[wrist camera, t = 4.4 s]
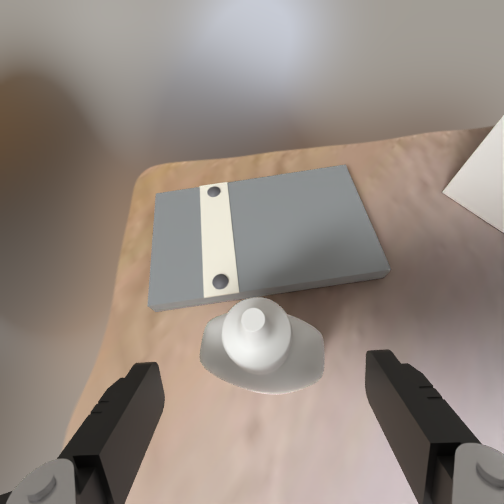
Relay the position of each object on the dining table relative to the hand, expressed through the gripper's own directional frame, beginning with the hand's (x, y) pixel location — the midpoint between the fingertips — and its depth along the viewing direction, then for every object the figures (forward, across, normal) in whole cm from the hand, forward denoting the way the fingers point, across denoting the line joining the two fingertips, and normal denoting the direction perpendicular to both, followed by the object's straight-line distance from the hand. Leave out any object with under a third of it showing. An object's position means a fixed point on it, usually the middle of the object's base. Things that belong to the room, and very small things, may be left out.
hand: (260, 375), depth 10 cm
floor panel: (+14, 0, -2) cm, 15 cm away
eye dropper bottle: (+7, 0, +5) cm, 9 cm away
